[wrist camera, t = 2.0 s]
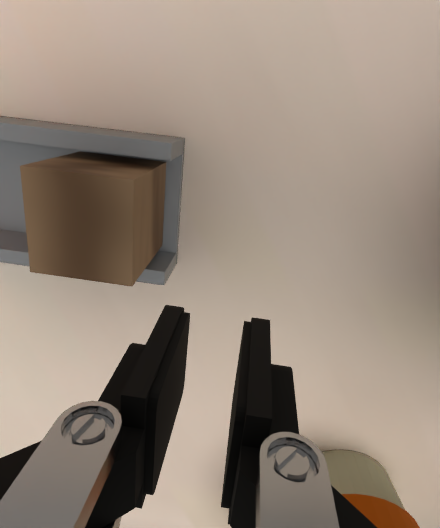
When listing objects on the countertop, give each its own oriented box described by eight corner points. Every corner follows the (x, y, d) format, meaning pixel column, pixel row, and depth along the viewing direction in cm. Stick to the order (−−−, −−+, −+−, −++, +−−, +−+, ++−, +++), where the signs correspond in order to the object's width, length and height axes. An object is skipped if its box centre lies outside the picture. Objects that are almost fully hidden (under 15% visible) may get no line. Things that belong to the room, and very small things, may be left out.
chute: (184, 138, 26) (171, 143, 22) (176, 263, 29) (164, 285, 26) (-68, 108, 27) (-120, 108, 23) (-46, 232, 30) (-89, 249, 27)
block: (166, 162, 26) (133, 180, 19) (162, 245, 28) (131, 286, 22) (80, 151, 26) (19, 165, 20) (83, 234, 28) (30, 271, 22)
